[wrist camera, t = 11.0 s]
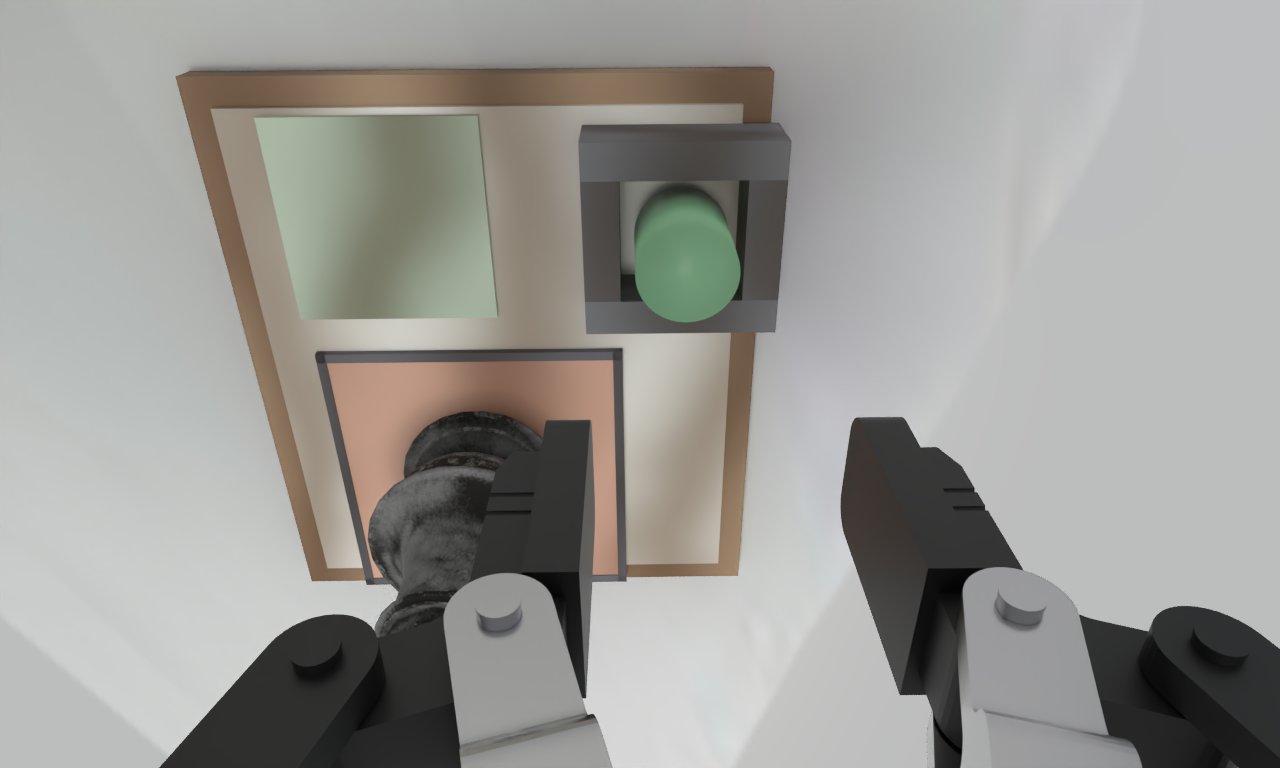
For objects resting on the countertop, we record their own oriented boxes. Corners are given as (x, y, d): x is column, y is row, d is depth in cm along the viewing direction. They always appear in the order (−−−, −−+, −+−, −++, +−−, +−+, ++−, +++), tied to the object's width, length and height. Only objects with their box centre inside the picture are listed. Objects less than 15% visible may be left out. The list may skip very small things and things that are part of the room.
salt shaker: (423, 553, 30) (318, 897, 20) (371, 417, 27) (215, 736, 17) (583, 531, 30) (563, 870, 19) (549, 391, 27) (502, 701, 16)
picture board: (319, 566, 32) (291, 625, 29) (189, 71, 23) (133, 92, 20) (740, 560, 32) (751, 618, 29) (776, 67, 23) (795, 87, 20)
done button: (634, 277, 24) (635, 323, 21) (633, 187, 22) (634, 224, 20) (725, 276, 24) (737, 321, 21) (729, 186, 22) (743, 223, 20)
